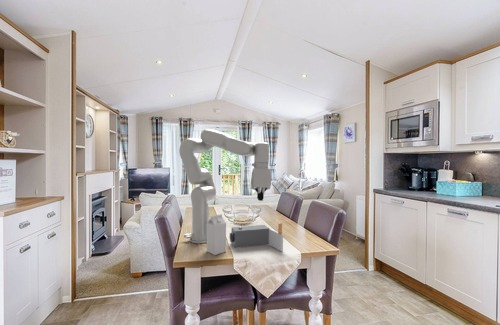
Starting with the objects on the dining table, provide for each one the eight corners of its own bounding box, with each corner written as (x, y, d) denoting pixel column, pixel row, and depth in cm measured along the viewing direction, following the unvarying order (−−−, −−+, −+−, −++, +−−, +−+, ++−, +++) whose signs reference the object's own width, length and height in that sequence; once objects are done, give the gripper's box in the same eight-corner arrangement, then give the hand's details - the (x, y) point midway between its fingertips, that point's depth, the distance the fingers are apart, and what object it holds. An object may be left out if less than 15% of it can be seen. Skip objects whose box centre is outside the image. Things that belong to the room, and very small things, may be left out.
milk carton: (206, 251, 139) (206, 215, 138) (217, 248, 144) (217, 213, 143) (214, 255, 133) (215, 217, 133) (225, 251, 138) (226, 215, 138)
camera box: (232, 247, 144) (232, 229, 144) (228, 243, 152) (228, 226, 152) (269, 244, 151) (269, 227, 151) (263, 239, 159) (264, 223, 159)
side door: (283, 250, 140) (283, 223, 140) (280, 251, 139) (280, 224, 139) (271, 243, 151) (271, 218, 151) (268, 244, 150) (268, 219, 150)
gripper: (250, 166, 136) (249, 202, 136) (277, 166, 140) (276, 201, 141) (245, 165, 143) (244, 199, 143) (271, 165, 148) (270, 198, 148)
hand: (260, 200), depth 142 cm, fingers closed
